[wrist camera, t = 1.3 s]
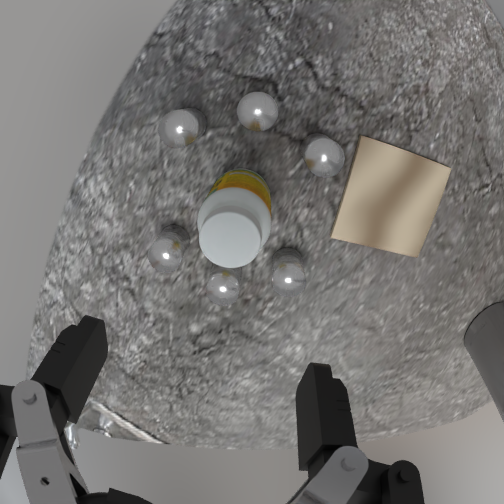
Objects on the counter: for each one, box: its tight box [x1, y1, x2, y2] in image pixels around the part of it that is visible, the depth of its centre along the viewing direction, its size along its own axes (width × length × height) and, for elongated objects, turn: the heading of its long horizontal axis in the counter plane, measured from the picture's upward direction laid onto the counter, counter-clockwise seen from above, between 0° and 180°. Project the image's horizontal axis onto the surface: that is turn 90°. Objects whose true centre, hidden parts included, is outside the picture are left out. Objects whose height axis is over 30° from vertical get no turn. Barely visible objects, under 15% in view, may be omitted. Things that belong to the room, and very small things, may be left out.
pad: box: [330, 135, 451, 258], centre depth 28 cm, size 10×10×1 cm
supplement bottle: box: [197, 169, 271, 268], centre depth 24 cm, size 5×5×10 cm
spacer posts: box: [148, 92, 345, 305], centre depth 27 cm, size 14×19×4 cm
